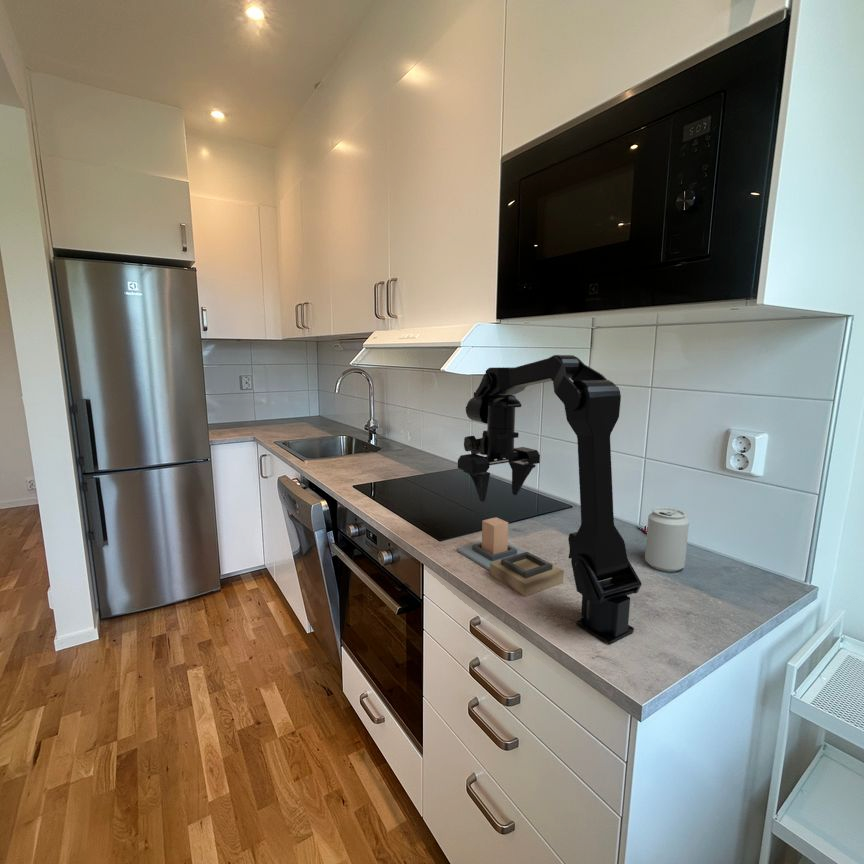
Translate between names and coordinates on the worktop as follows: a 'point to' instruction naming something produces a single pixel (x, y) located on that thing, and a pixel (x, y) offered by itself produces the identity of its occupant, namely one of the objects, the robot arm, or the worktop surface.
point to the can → (666, 539)
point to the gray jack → (487, 554)
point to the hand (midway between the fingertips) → (498, 498)
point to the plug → (494, 535)
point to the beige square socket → (526, 573)
